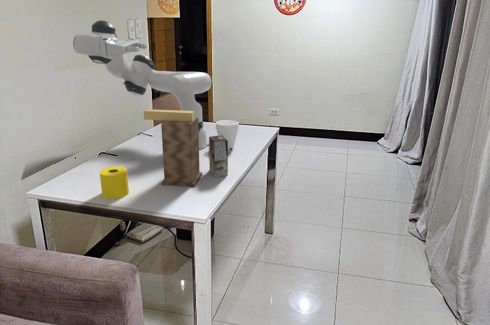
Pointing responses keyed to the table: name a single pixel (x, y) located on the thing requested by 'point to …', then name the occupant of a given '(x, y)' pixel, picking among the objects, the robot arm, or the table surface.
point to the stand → (180, 153)
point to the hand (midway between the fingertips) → (142, 48)
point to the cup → (228, 130)
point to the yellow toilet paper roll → (114, 182)
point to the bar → (169, 115)
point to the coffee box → (218, 155)
